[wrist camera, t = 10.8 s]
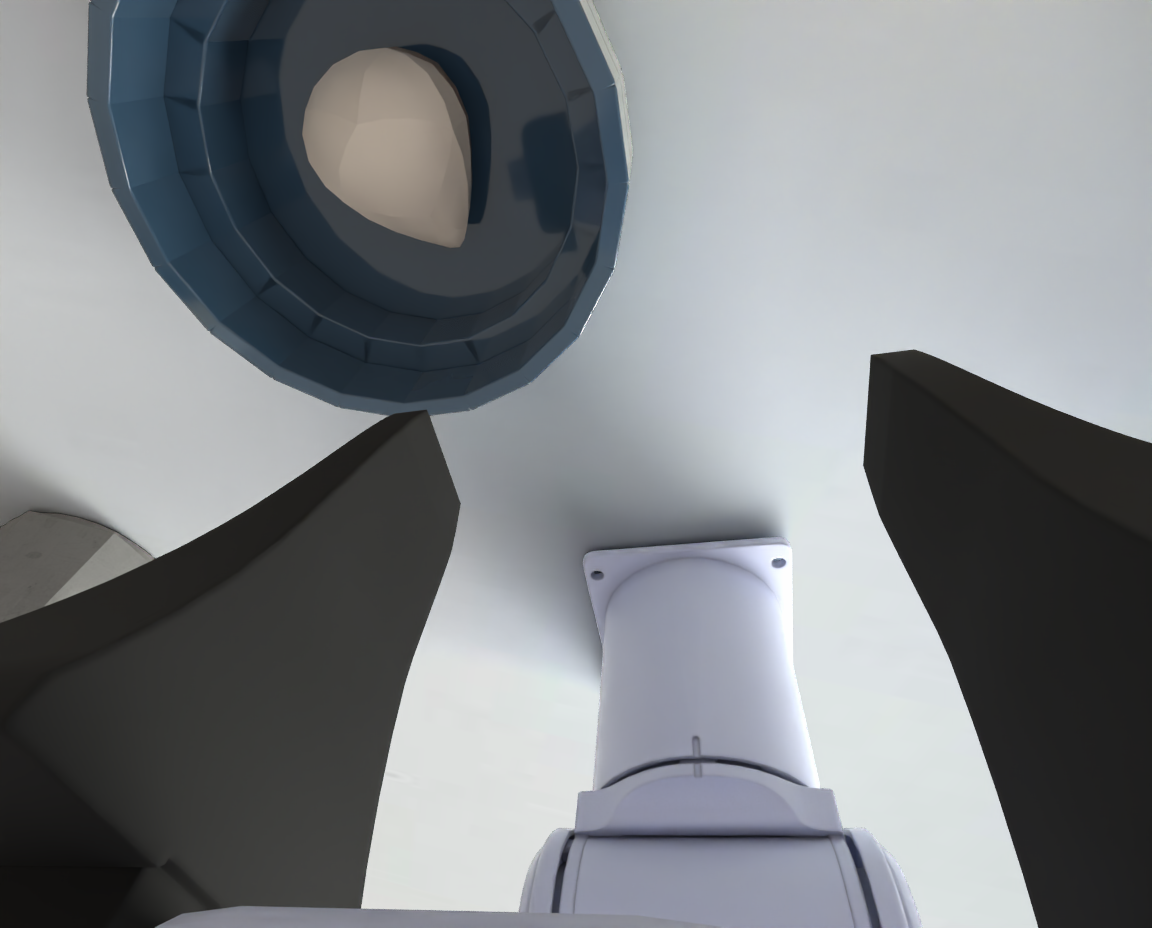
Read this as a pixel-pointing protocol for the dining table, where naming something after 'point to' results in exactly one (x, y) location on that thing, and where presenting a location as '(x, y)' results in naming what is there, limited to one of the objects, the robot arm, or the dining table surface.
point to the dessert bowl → (339, 233)
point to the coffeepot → (58, 560)
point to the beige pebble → (393, 143)
